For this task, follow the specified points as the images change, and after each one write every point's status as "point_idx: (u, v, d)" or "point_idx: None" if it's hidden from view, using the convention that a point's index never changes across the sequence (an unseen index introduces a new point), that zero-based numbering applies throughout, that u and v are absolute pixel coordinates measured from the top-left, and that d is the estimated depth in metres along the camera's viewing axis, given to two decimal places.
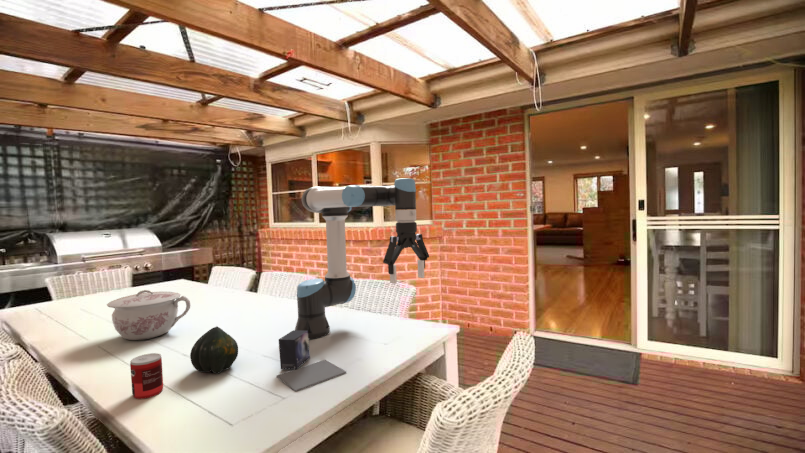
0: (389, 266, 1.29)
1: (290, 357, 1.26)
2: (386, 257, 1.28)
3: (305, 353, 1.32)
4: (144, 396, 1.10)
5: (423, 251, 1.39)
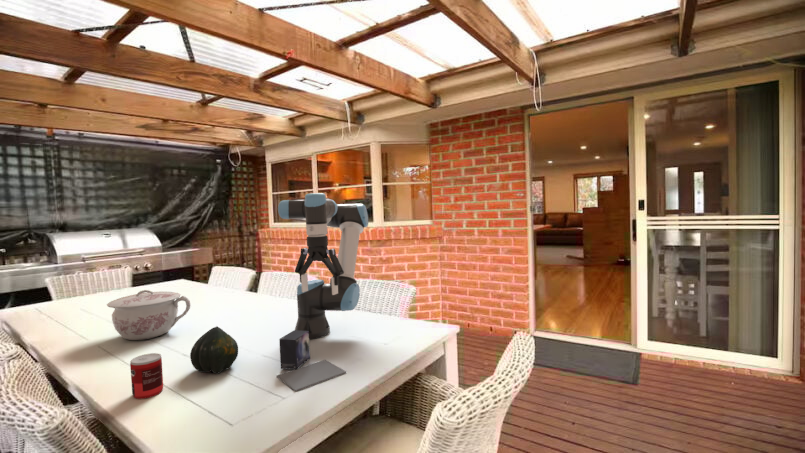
0: None
1: (290, 357, 1.26)
2: None
3: (306, 354, 1.32)
4: (144, 396, 1.10)
5: None
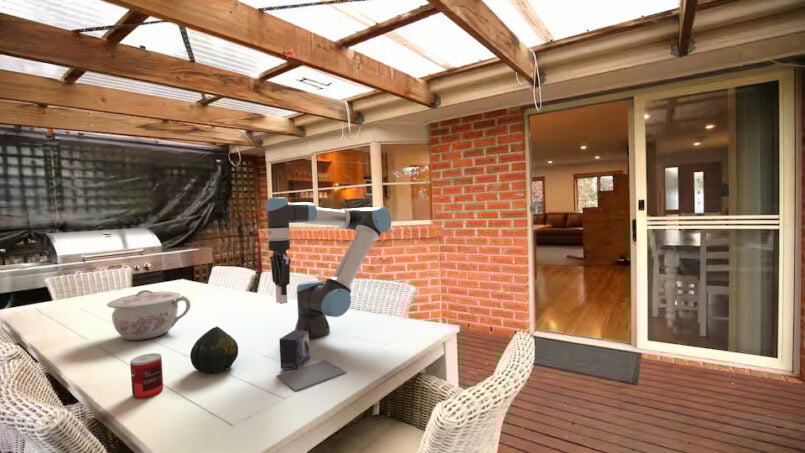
0: None
1: (290, 357, 1.26)
2: None
3: (306, 354, 1.32)
4: (144, 396, 1.10)
5: None
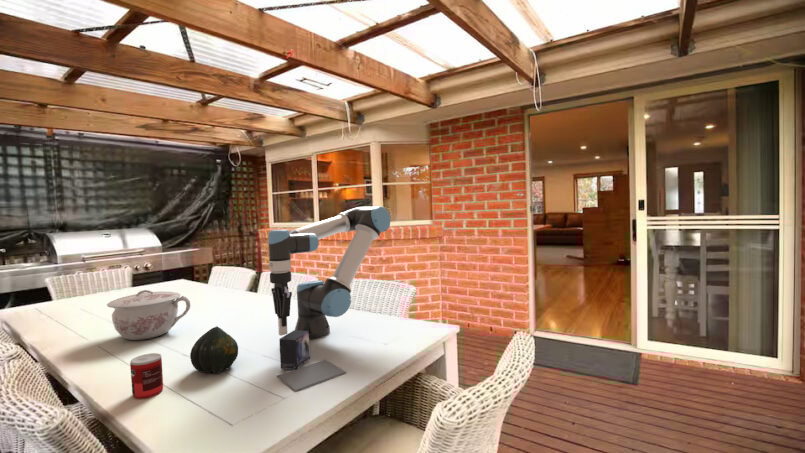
0: None
1: (290, 357, 1.26)
2: None
3: (306, 354, 1.32)
4: (144, 396, 1.10)
5: None
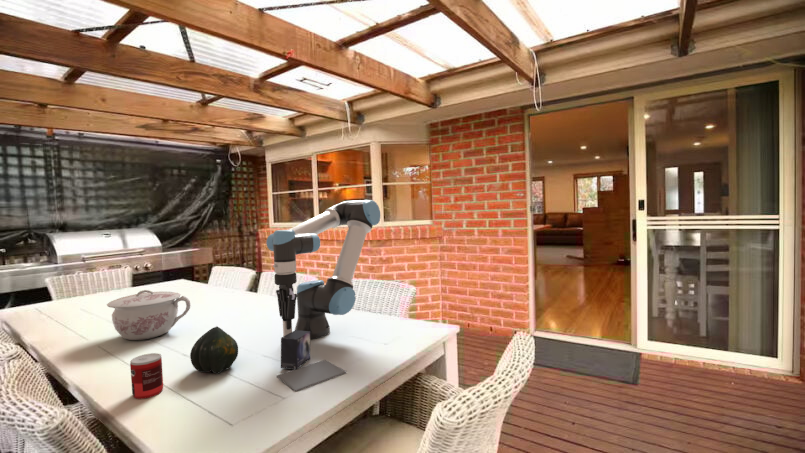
0: None
1: (291, 356, 1.26)
2: None
3: (306, 354, 1.32)
4: (144, 396, 1.10)
5: None
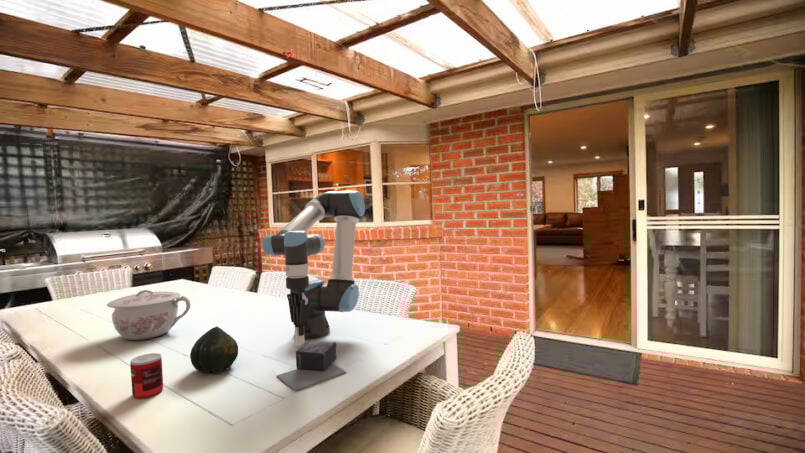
0: None
1: (307, 364, 1.25)
2: None
3: None
4: (144, 396, 1.10)
5: None
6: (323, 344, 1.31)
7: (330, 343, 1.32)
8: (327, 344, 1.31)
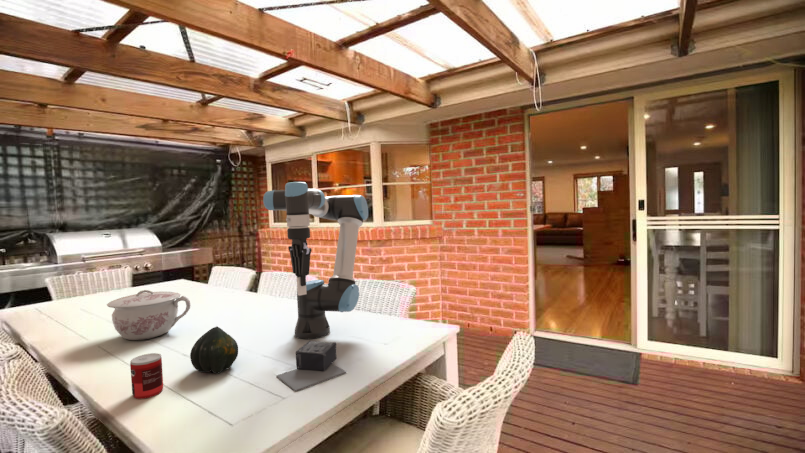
0: None
1: (307, 364, 1.25)
2: None
3: None
4: (144, 396, 1.10)
5: None
6: (323, 344, 1.31)
7: (330, 343, 1.32)
8: (327, 344, 1.31)
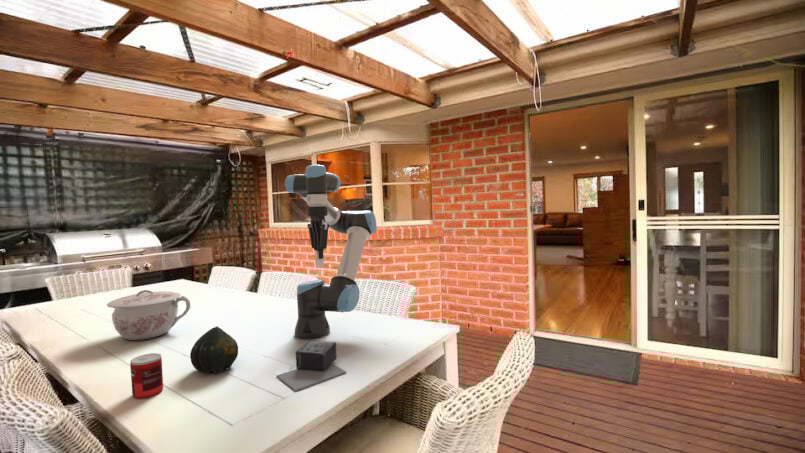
0: None
1: (307, 364, 1.25)
2: None
3: None
4: (144, 396, 1.10)
5: None
6: (323, 344, 1.31)
7: (330, 343, 1.32)
8: (327, 344, 1.31)
